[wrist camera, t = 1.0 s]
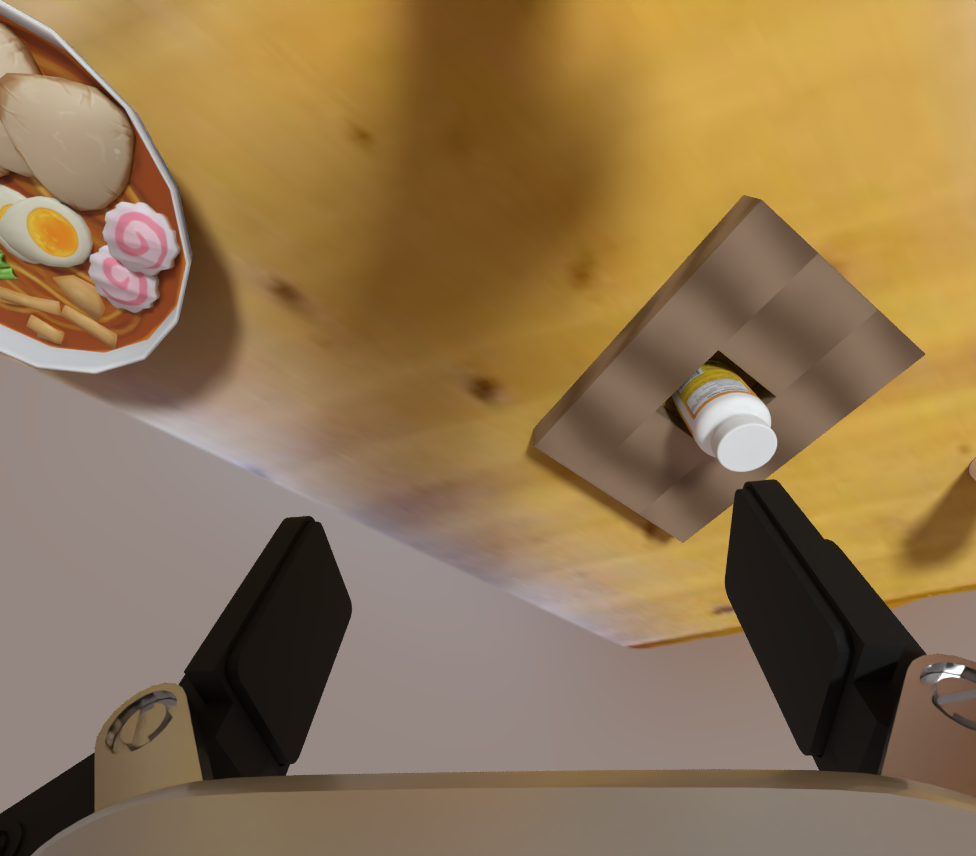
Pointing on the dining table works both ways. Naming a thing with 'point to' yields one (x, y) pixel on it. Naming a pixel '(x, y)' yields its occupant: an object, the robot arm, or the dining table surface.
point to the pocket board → (744, 340)
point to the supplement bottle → (726, 417)
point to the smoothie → (973, 469)
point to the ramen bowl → (80, 213)
